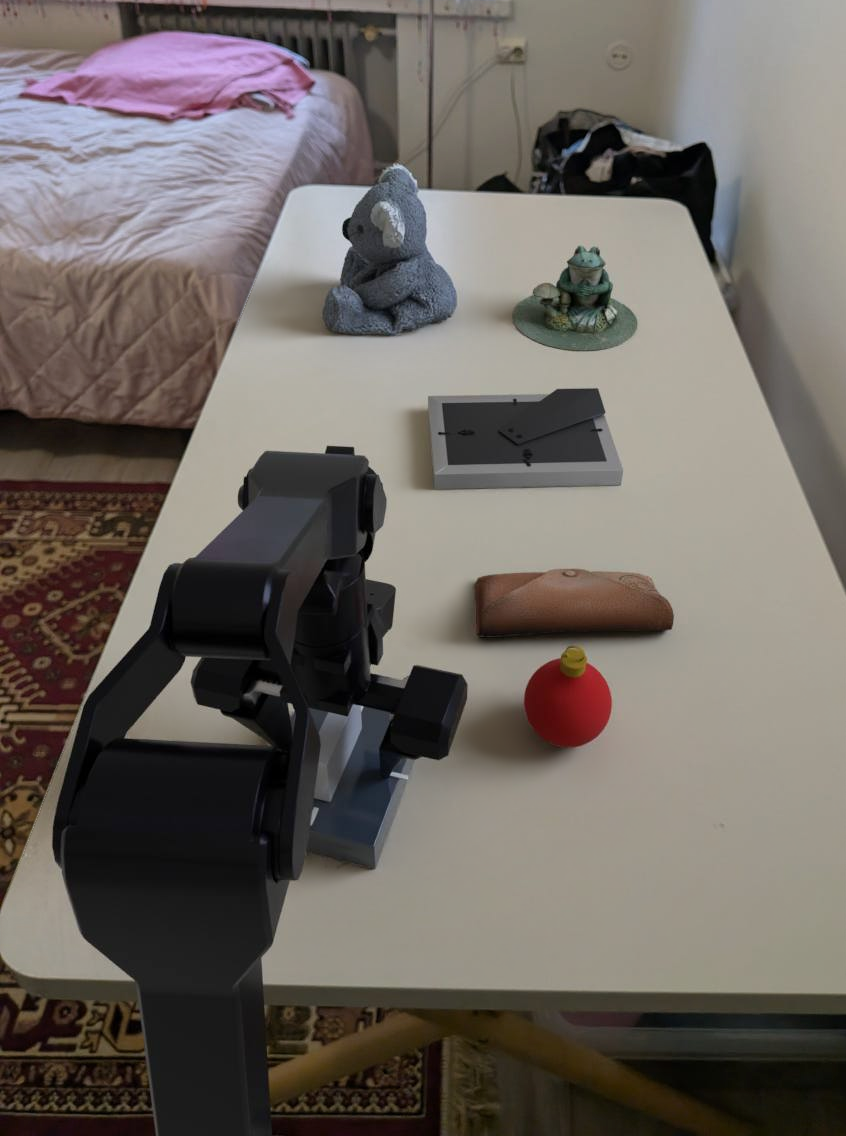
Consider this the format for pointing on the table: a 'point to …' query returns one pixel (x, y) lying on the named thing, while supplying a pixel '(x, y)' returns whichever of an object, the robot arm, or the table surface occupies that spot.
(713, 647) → the table surface
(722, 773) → the table surface
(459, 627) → the table surface
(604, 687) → the christmas ornament
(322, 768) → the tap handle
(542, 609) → the sunglasses case
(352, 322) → the koala plush
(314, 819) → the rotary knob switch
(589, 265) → the frog figurine
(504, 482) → the picture frame
